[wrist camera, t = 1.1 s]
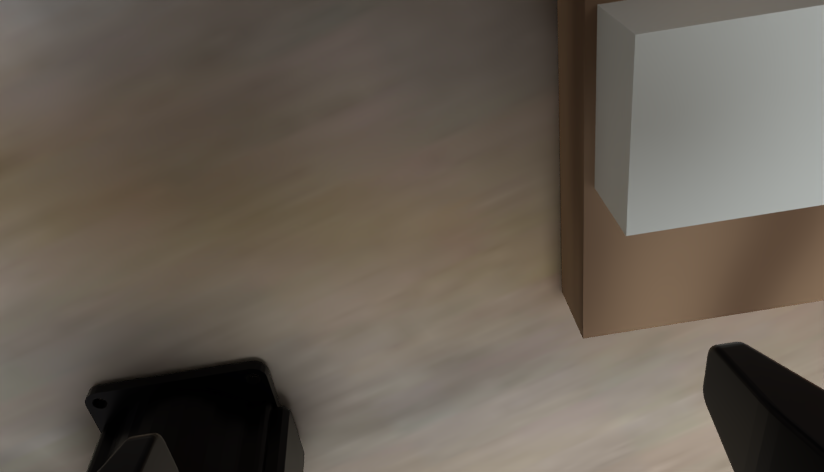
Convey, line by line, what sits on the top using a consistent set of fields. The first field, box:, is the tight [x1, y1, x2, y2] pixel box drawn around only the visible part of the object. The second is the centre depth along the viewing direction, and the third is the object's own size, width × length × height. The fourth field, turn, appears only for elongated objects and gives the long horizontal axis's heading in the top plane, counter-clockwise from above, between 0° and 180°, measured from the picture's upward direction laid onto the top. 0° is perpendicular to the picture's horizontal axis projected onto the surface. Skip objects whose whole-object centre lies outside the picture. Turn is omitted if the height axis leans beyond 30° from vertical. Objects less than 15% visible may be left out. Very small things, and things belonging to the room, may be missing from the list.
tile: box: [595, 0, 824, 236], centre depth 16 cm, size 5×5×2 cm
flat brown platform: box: [557, 0, 824, 338], centre depth 19 cm, size 11×16×2 cm
